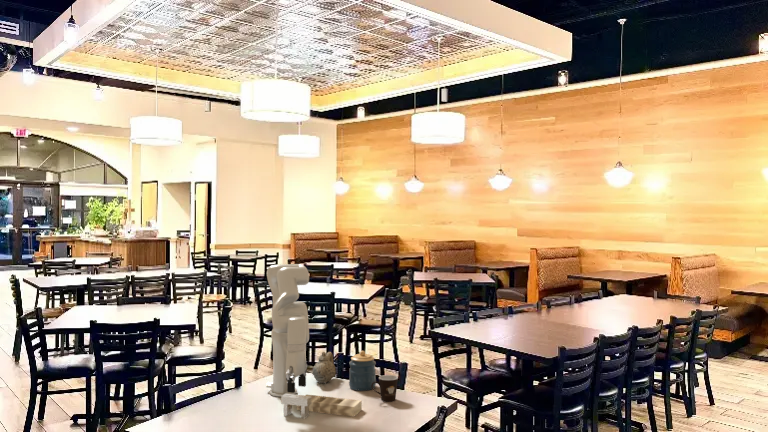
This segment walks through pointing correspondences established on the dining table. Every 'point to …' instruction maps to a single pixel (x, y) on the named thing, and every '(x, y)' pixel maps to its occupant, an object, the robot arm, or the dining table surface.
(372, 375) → the canister
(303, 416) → the grey arched block
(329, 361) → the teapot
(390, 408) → the dining table surface
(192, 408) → the dining table surface
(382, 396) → the coffee mug
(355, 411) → the rail
